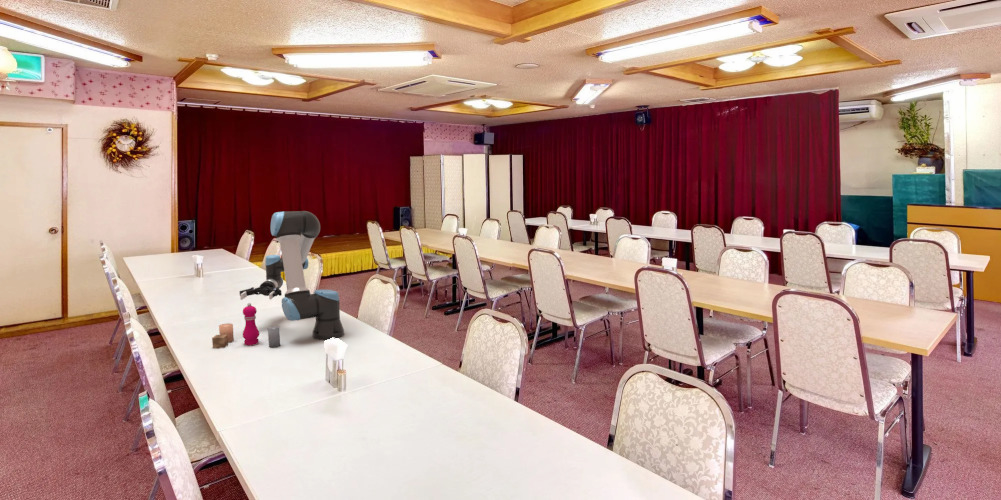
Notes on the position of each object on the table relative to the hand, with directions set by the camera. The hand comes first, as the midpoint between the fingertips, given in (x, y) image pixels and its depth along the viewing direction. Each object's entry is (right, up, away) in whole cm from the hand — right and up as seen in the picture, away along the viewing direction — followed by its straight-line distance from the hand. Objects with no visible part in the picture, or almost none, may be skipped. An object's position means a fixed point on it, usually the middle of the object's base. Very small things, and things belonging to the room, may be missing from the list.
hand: (255, 296), depth 264 cm
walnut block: (-11, -22, -11) cm, 28 cm away
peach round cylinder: (-12, -21, -3) cm, 25 cm away
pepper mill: (+1, -22, -7) cm, 23 cm away
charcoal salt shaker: (+14, -22, -10) cm, 28 cm away
